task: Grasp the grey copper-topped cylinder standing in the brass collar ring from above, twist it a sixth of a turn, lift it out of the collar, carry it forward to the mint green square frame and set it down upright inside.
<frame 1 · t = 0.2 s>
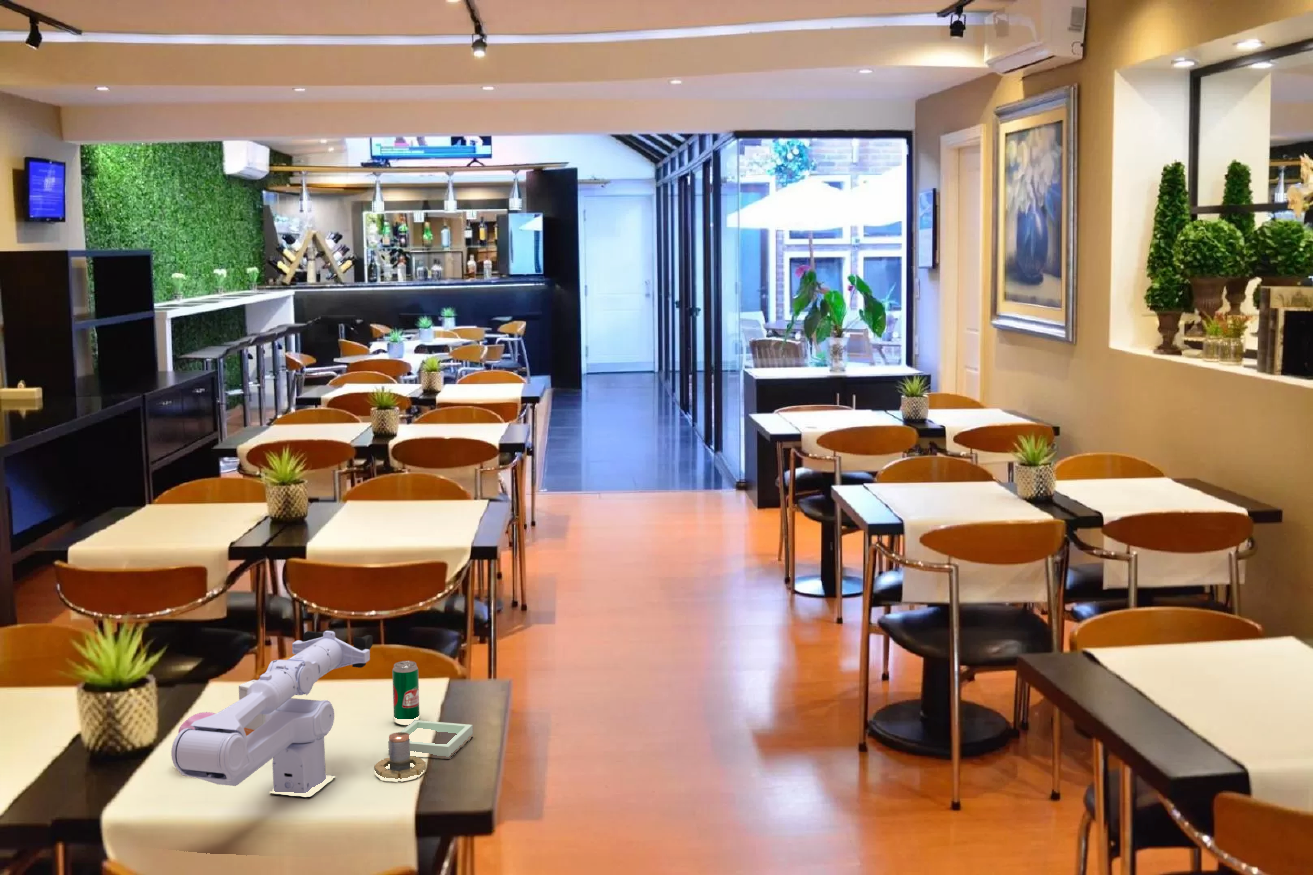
hand: (351, 638, 250), 21 cm above the table, tool horizontal, fingers open, 7 cm apart
grey copper-topped cylinder: (400, 773, 240), resting in collar
cupcake: (206, 767, 243), on the table
soda can: (406, 723, 266), on the table
collar: (400, 772, 240), on the table
skincare box: (260, 745, 254), on the table
mint green square frame: (431, 745, 253), on the table
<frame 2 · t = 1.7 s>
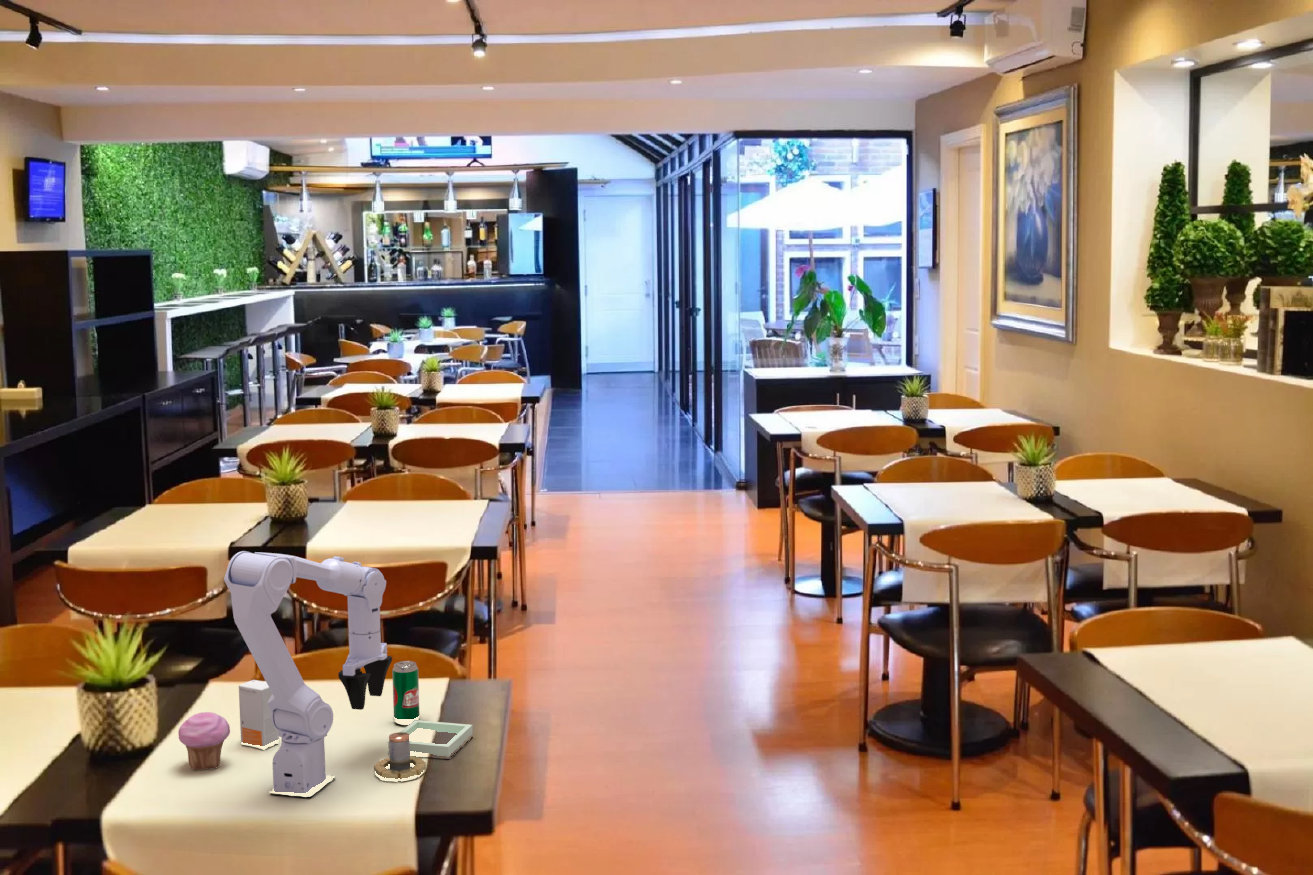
hand: (366, 701, 247), 10 cm above the table, tool pointing down, fingers open, 7 cm apart
nothing on the table moved.
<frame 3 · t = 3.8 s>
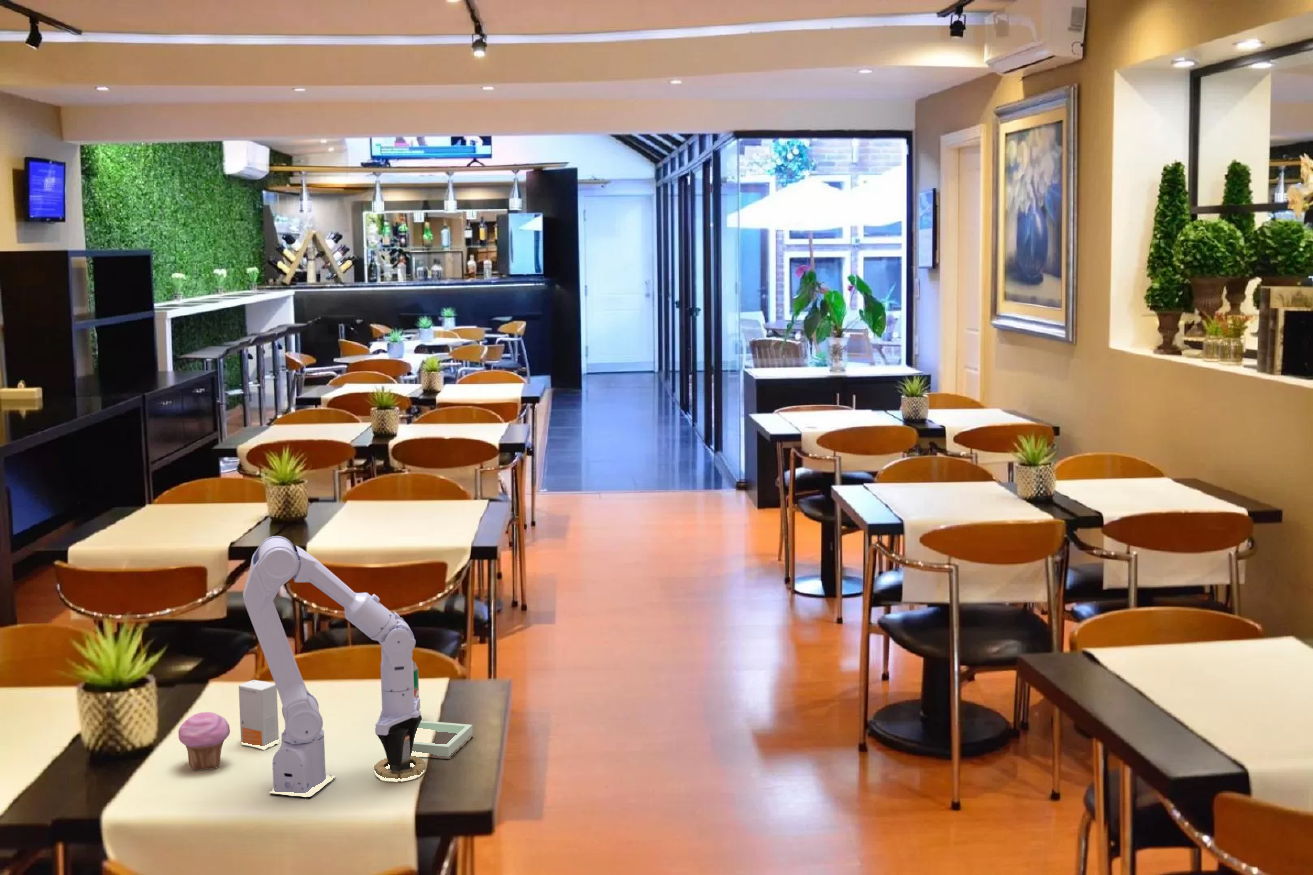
hand: (399, 760, 239), 2 cm above the table, tool pointing down, fingers closed on grey copper-topped cylinder, 4 cm apart
grey copper-topped cylinder: (400, 773, 240), resting in collar, touching gripper
everything else where it was.
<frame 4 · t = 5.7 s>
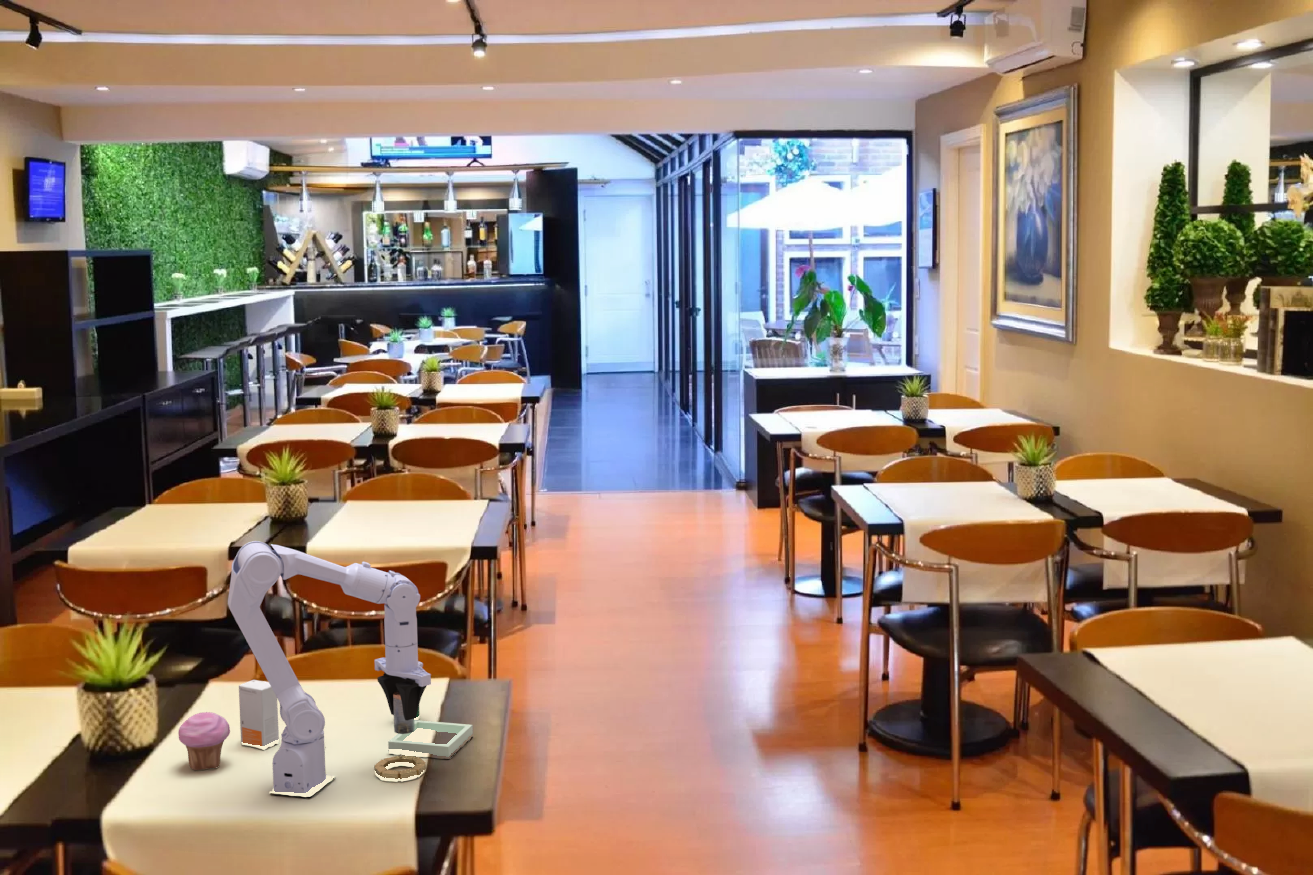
hand: (403, 715, 240), 10 cm above the table, tool pointing down, fingers closed on grey copper-topped cylinder, 4 cm apart
grey copper-topped cylinder: (404, 730, 241), point 7 cm above the table, touching gripper
everything else where it was.
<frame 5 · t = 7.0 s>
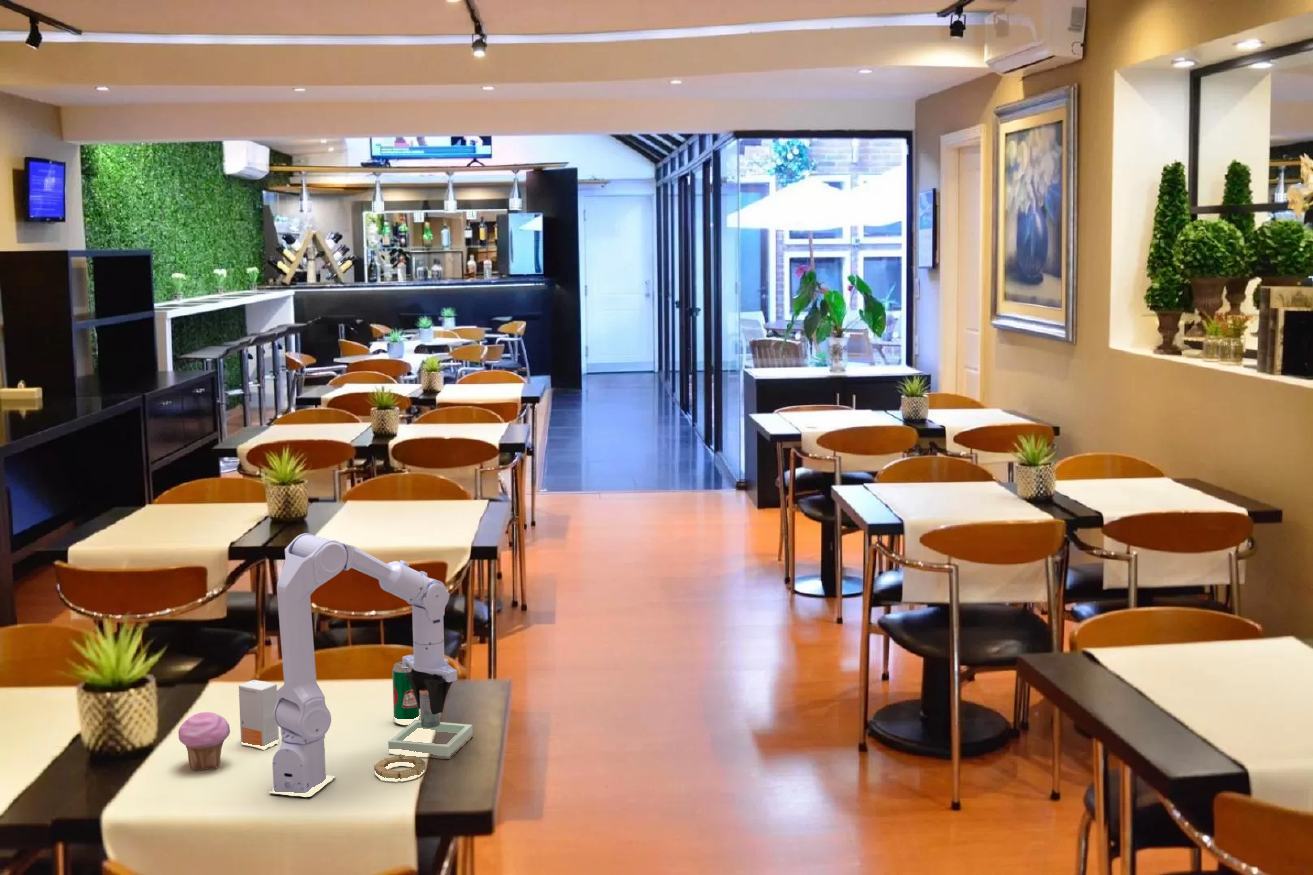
hand: (430, 710, 252), 7 cm above the table, tool pointing down, fingers closed on grey copper-topped cylinder, 4 cm apart
grey copper-topped cylinder: (430, 724, 252), point 4 cm above the table, touching gripper
everything else where it was.
when the fingers open (4 cm above the table, at t = 7.8 s): grey copper-topped cylinder stays where it is, resting on mint green square frame.
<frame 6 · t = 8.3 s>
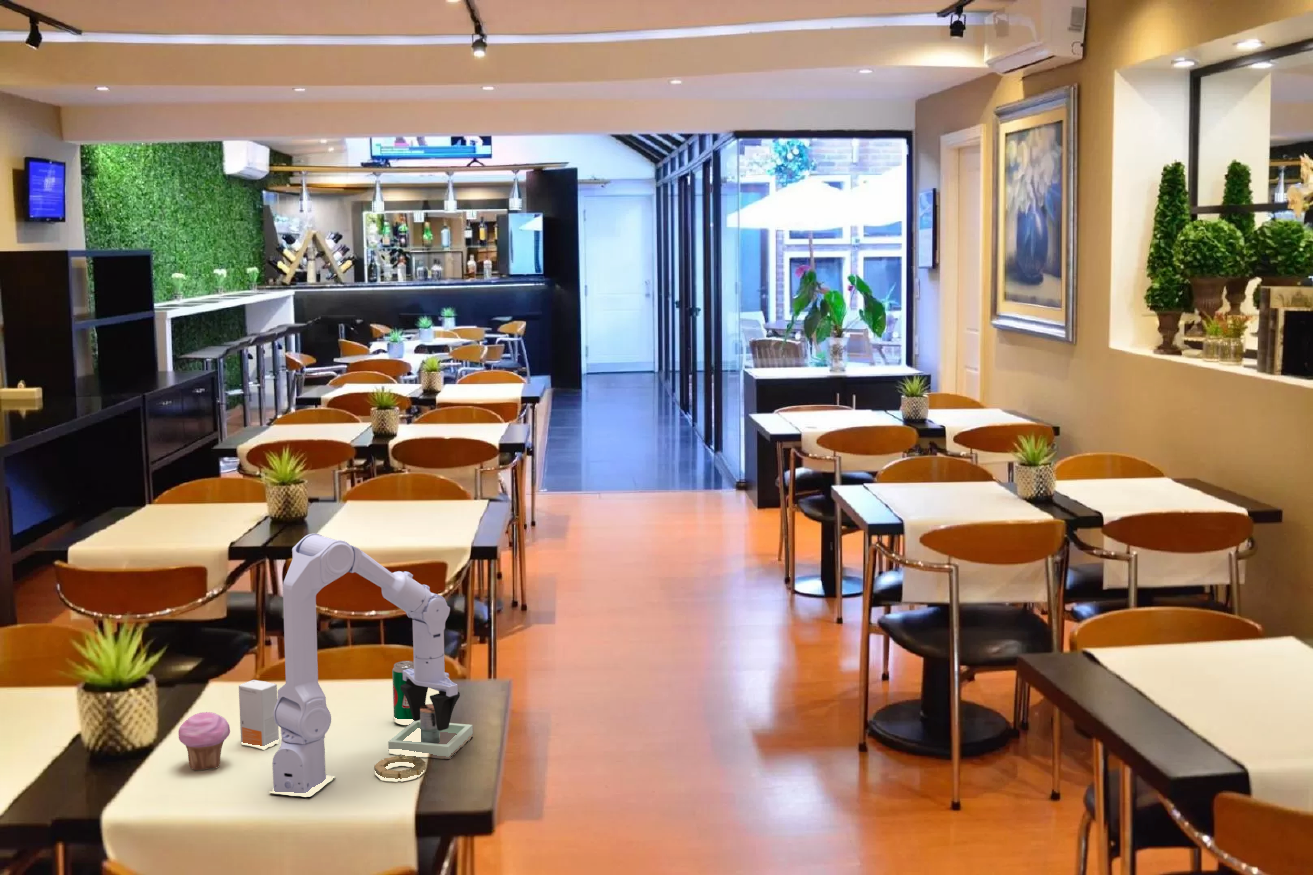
hand: (430, 724, 253), 4 cm above the table, tool pointing down, fingers open, 7 cm apart
grey copper-topped cylinder: (430, 742, 253), point 1 cm above the table, touching mint green square frame
everything else where it was.
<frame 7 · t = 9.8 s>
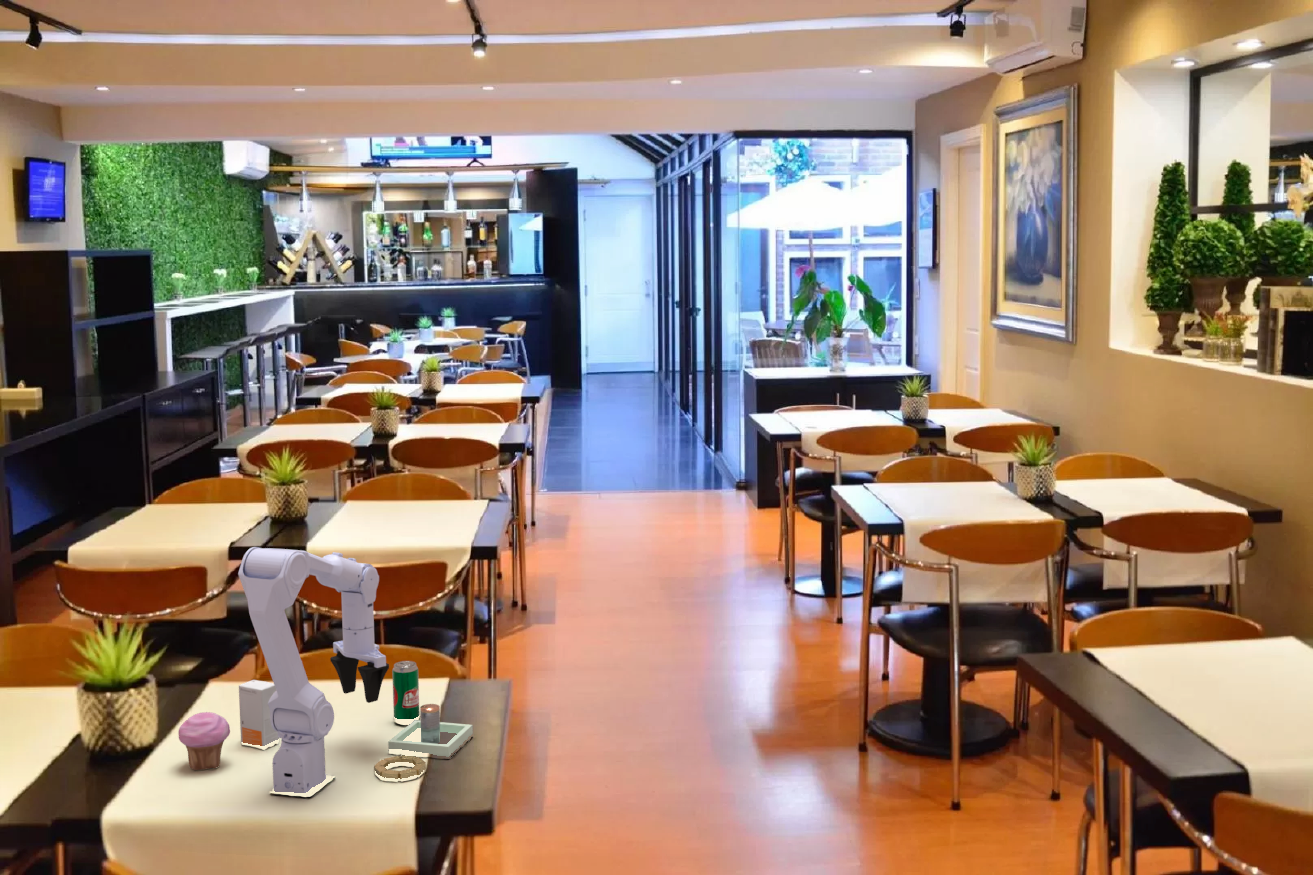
hand: (360, 696, 250), 10 cm above the table, tool pointing down, fingers open, 7 cm apart
nothing on the table moved.
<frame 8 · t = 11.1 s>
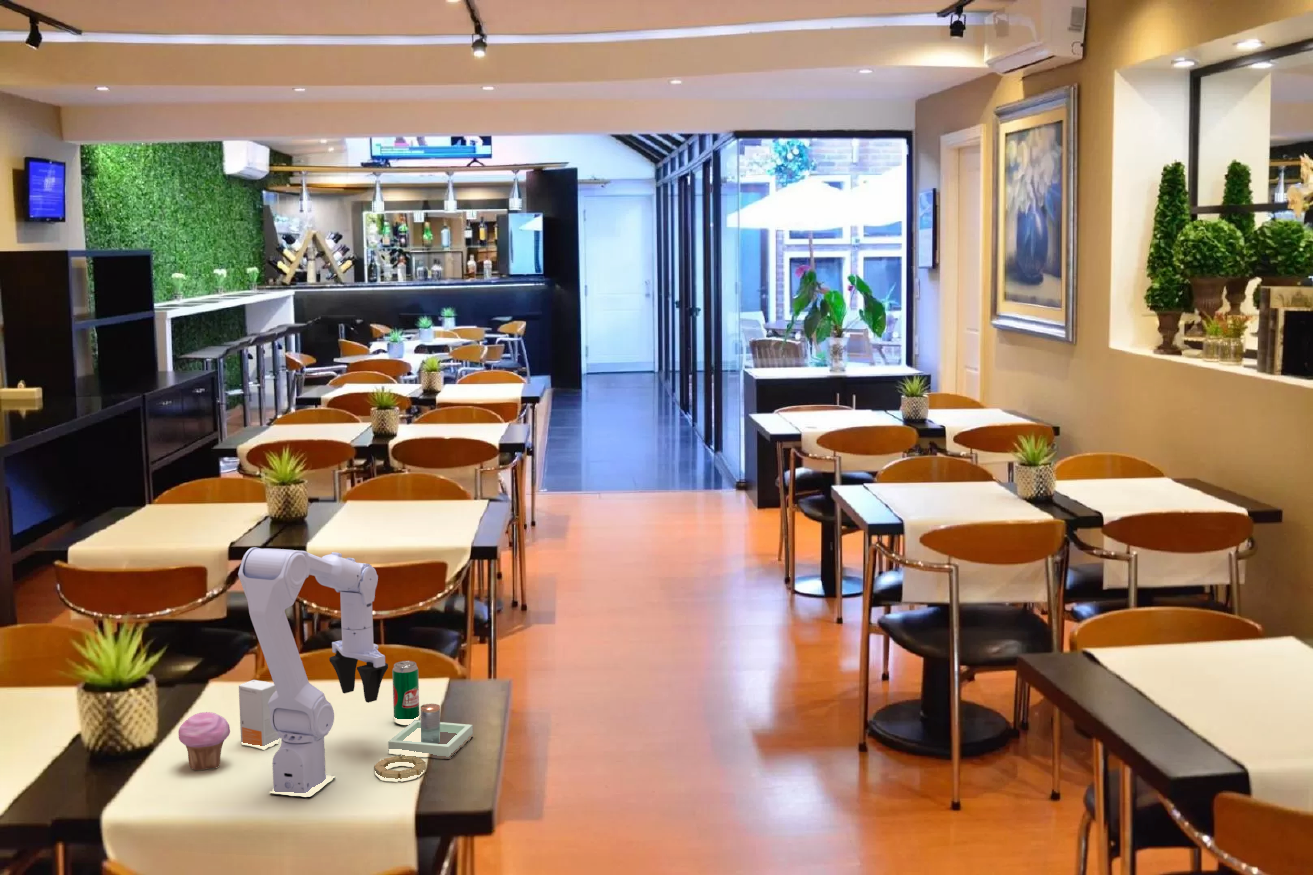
hand: (359, 696, 250), 10 cm above the table, tool pointing down, fingers open, 7 cm apart
nothing on the table moved.
at the end: grey copper-topped cylinder inside the target area on the mint green square frame (0.2 cm from its centre), point 0.6 cm above the mint green square frame's base; grey copper-topped cylinder tilted 2°; the gripper is holding nothing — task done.
